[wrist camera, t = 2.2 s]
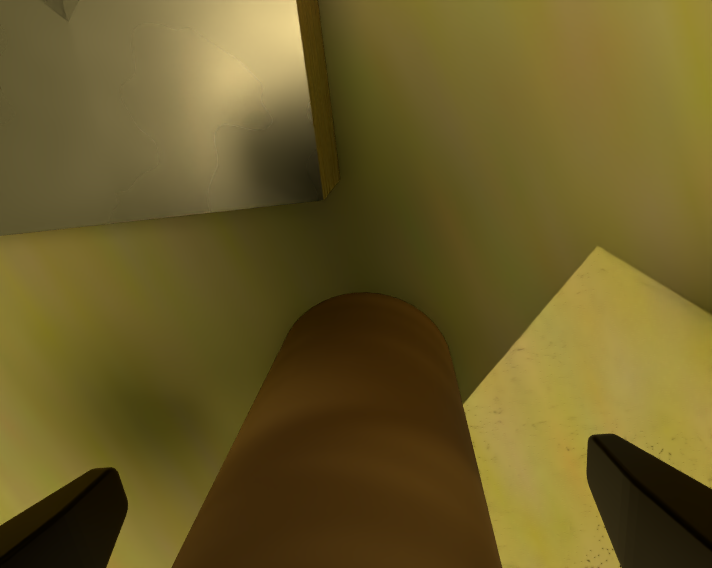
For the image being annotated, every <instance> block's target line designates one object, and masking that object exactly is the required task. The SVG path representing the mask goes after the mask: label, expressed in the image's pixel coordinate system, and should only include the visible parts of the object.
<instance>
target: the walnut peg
mask: <svg viewBox="0 0 712 568" xmlns="http://www.w3.org/2000/svg"><path fill="white" fill-rule="evenodd" d="M172 568H502V565H501V561H500V557H499V553H498V549H497V545H496V540H495V536H494V532H493V528H492V524H491V520H490V516H489V511H488V507H487V503H486V499H485V495H484V491H483V487H482V483H481V478H480V474H479V470H478V466H477V462H476V458H475V454H474V449H473V445H472V441H471V437H470V433H469V429H468V425H467V420H466V416H465V412H464V408H463V404H462V400H461V396H460V392H459V387H458V383H457V379H456V375H455V371H454V367H453V363H452V358H451V355H450V351H449V348H448V345H447V343H446V341H445V339H444V337H443V335H442V334H441V332H440V331H439V329H438V328H437V326H436V325H435V324H434V323H433V322H432V321H431V320H430V319H429V318H428V317H427V316H426V315H425V314H424V313H423V312H421V311H420V310H418V309H417V308H415V307H414V306H412V305H410V304H408V303H406V302H405V301H403V300H400V299H397V298H394V297H392V296H388V295H383V294H378V293H368V292H363V293H350V294H343V295H340V296H336V297H333V298H330V299H328V300H325V301H323V302H321V303H319V304H317V305H316V306H314V307H312V308H311V309H310V310H308V311H307V312H306V313H305V314H303V315H302V316H301V317H300V318H299V319H298V320H297V322H296V323H295V324H294V325H293V327H292V328H291V330H290V331H289V333H288V335H287V337H286V339H285V341H284V343H283V345H282V347H281V349H280V351H279V353H278V355H277V357H276V359H275V361H274V363H273V365H272V367H271V369H270V371H269V373H268V375H267V377H266V379H265V381H264V383H263V385H262V387H261V389H260V391H259V393H258V395H257V397H256V399H255V401H254V403H253V405H252V407H251V409H250V411H249V413H248V415H247V417H246V419H245V421H244V423H243V425H242V427H241V429H240V431H239V433H238V435H237V437H236V439H235V441H234V443H233V445H232V447H231V449H230V451H229V453H228V455H227V457H226V459H225V461H224V463H223V465H222V467H221V469H220V471H219V473H218V475H217V477H216V479H215V481H214V483H213V485H212V487H211V489H210V491H209V493H208V495H207V497H206V499H205V501H204V503H203V505H202V507H201V509H200V511H199V513H198V515H197V517H196V519H195V521H194V523H193V525H192V527H191V529H190V531H189V533H188V535H187V537H186V539H185V541H184V543H183V545H182V548H181V550H180V552H179V554H178V556H177V558H176V560H175V562H174V564H173V566H172Z"/></svg>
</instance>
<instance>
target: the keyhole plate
mask: <svg viewBox="0 0 712 568" xmlns="http://www.w3.org/2000/svg"><path fill="white" fill-rule="evenodd" d="M339 180H340V172H339V164H338V156H337V148H336V140H335V133H334V125H333V117H332V109H331V101H330V93H329V85H328V77H327V69H326V61H325V53H324V45H323V37H322V29H321V21H320V13H319V5H318V0H0V236H2V235H11V234H20V233H30V232H39V231H48V230H57V229H66V228H75V227H84V226H93V225H103V224H112V223H121V222H130V221H139V220H148V219H157V218H166V217H176V216H185V215H194V214H203V213H212V212H221V211H230V210H239V209H248V208H258V207H267V206H276V205H285V204H294V203H303V202H312V201H321V200H324V199H325V198H326V197H327V196H328V194H329V193H330V192H331V190H332V189H333V188H334V187H335V185H336V184H337V183H338V182H339Z"/></svg>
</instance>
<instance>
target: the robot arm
mask: <svg viewBox="0 0 712 568" xmlns="http://www.w3.org/2000/svg"><path fill="white" fill-rule="evenodd" d="M587 480H588V484H589V487H590V490H591V492H592V495H593V497H594V500H595V502H596V505H597V507H598V510H599V512H600V515H601V517H602V520H603V523H604V525H605V528H606V530H607V533H608V535H609V538H610V540H611V543H612V545H613V548H614V550H615V553H616V555H617V558H618V560H619V562H620V565H621V567H622V568H712V489H711V488H709V487H707V486H705V485H703V484H702V483H700V482H698V481H696V480H695V479H693V478H691V477H689V476H688V475H686V474H684V473H682V472H681V471H679V470H677V469H675V468H674V467H672V466H670V465H668V464H667V463H665V462H663V461H661V460H660V459H658V458H656V457H654V456H653V455H651V454H649V453H647V452H645V451H644V450H642V449H640V448H638V447H637V446H635V445H633V444H631V443H630V442H628V441H626V440H624V439H623V438H621V437H619V436H617V435H615V434H597V435H592V436H590V437H589V440H588V449H587ZM127 510H128V500H127V497H126V494H125V491H124V488H123V485H122V482H121V479H120V476H119V474H118V471H117V470H116V469H115V468H112V467H108V468H95V469H92V470H90V471H88V472H86V473H85V474H83V475H82V476H80V477H78V478H77V479H75V480H73V481H72V482H70V483H69V484H67V485H65V486H64V487H62V488H60V489H59V490H57V491H56V492H54V493H52V494H51V495H49V496H48V497H46V498H44V499H43V500H41V501H39V502H38V503H36V504H35V505H33V506H31V507H30V508H28V509H26V510H25V511H23V512H22V513H20V514H18V515H17V516H15V517H13V518H12V519H10V520H9V521H7V522H5V523H4V524H2V525H1V526H0V568H106V567H107V564H108V562H109V559H110V556H111V554H112V551H113V548H114V546H115V543H116V541H117V538H118V535H119V533H120V530H121V527H122V525H123V522H124V520H125V517H126V514H127Z"/></svg>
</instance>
